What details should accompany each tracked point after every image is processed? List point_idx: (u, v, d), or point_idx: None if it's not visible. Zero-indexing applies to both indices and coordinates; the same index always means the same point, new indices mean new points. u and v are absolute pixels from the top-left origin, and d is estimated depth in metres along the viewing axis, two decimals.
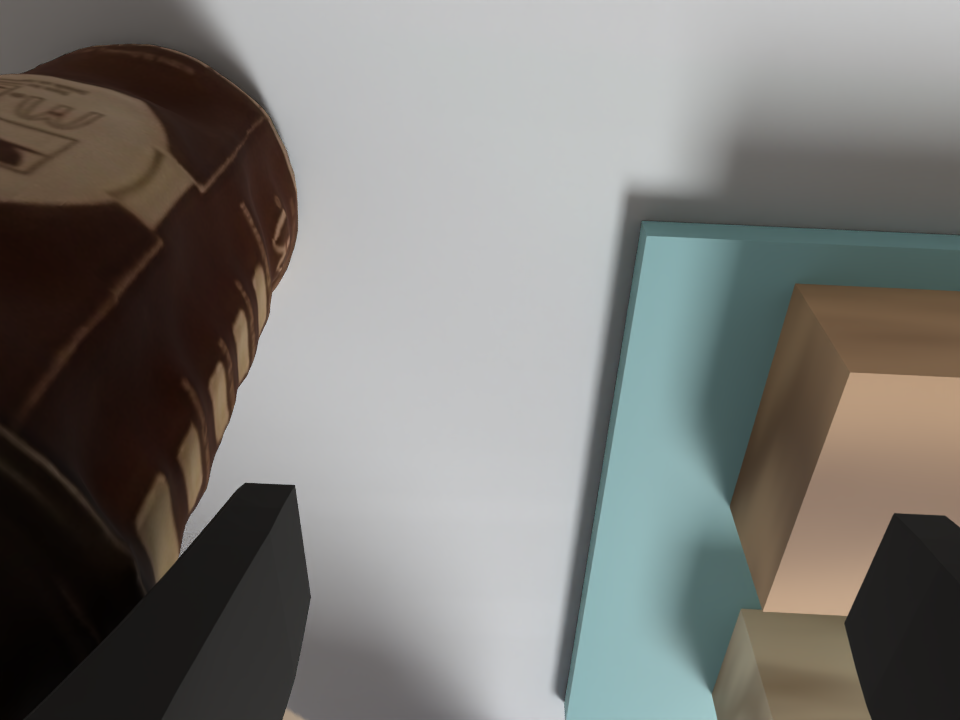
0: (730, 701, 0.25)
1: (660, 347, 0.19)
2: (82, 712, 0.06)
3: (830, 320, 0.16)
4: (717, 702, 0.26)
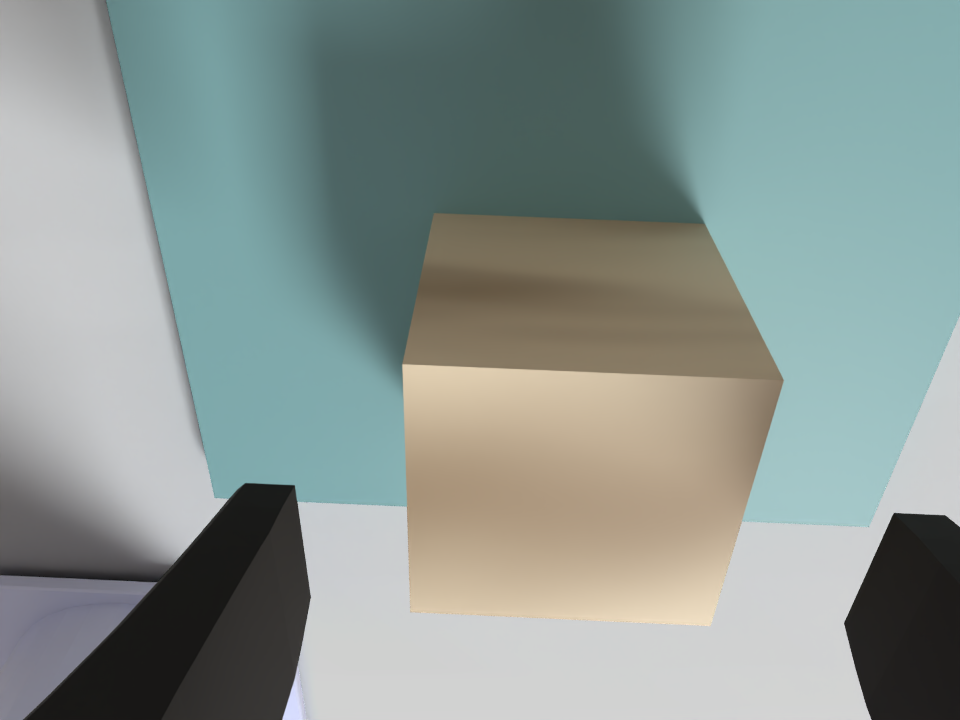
0: None
1: None
2: (82, 712, 0.06)
3: None
4: None
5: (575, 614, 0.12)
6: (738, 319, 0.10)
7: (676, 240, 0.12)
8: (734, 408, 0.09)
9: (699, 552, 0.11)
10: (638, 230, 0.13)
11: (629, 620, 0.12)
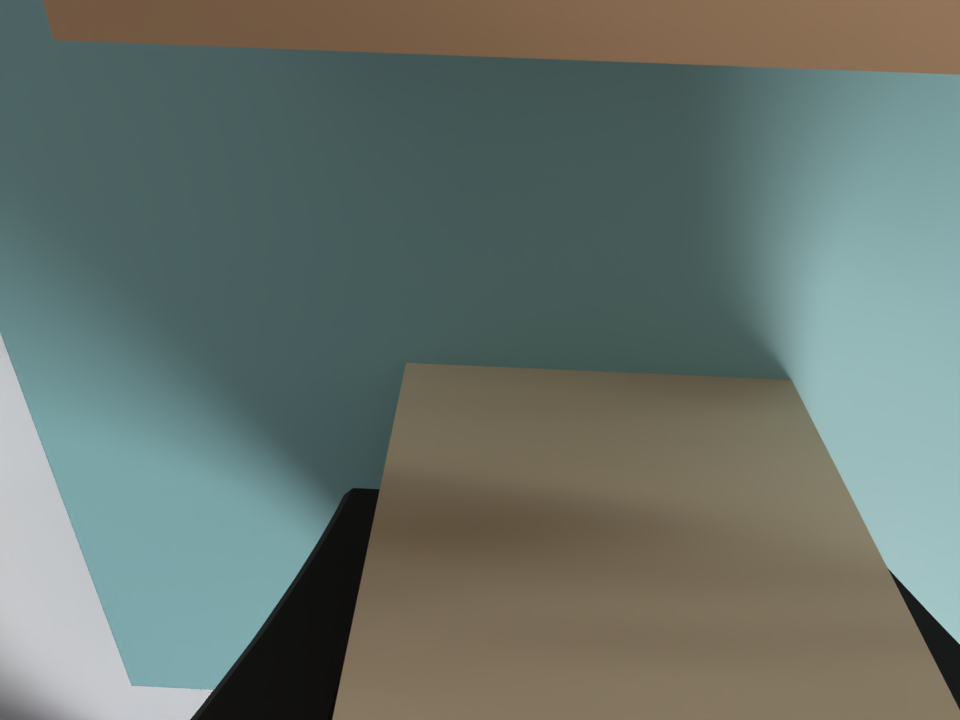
0: None
1: None
2: None
3: None
4: None
5: None
6: (878, 595, 0.06)
7: (755, 414, 0.09)
8: None
9: None
10: (698, 394, 0.09)
11: None
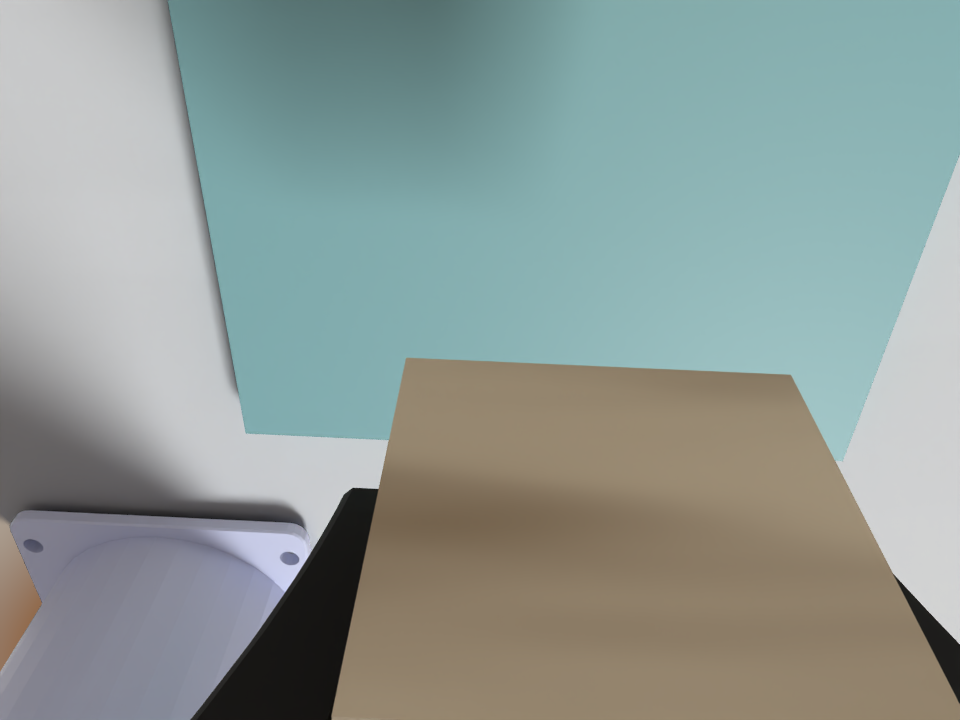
0: None
1: None
2: None
3: None
4: None
5: None
6: (876, 588, 0.07)
7: (755, 408, 0.09)
8: None
9: None
10: (698, 389, 0.09)
11: None
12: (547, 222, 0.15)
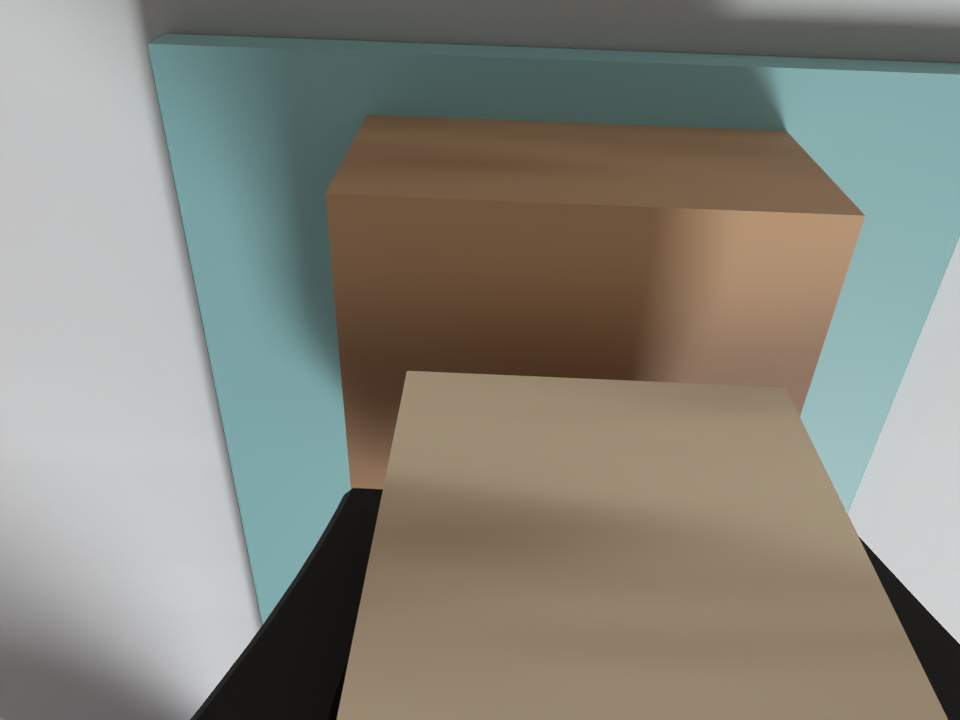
0: None
1: (222, 213, 0.14)
2: None
3: (368, 146, 0.12)
4: None
5: None
6: (866, 601, 0.07)
7: (749, 421, 0.09)
8: None
9: None
10: (694, 401, 0.09)
11: None
12: None
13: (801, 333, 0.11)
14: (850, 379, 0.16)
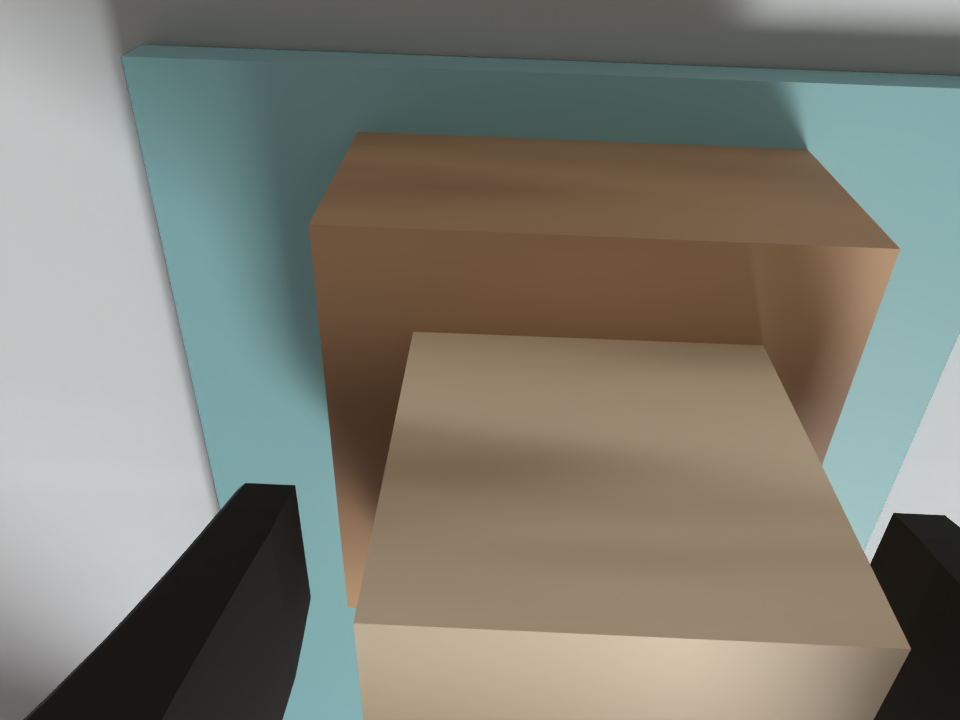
0: None
1: (204, 235, 0.13)
2: (83, 712, 0.06)
3: (358, 168, 0.11)
4: None
5: None
6: (828, 523, 0.07)
7: (729, 374, 0.09)
8: (834, 678, 0.07)
9: None
10: (678, 357, 0.10)
11: None
12: None
13: (827, 373, 0.10)
14: (871, 408, 0.15)
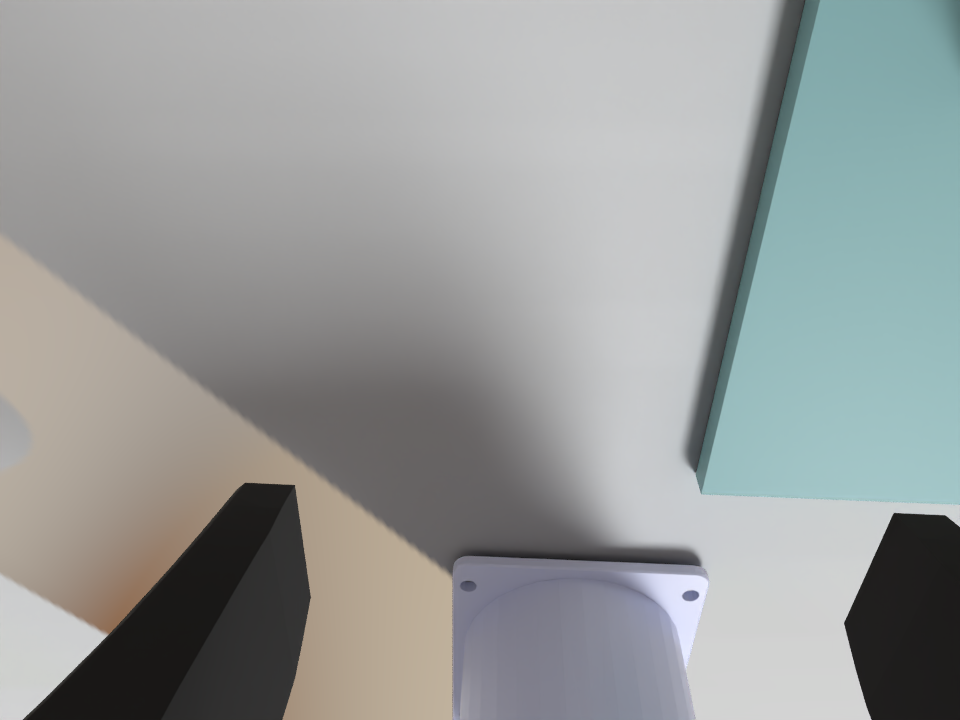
0: None
1: None
2: (83, 712, 0.06)
3: None
4: None
5: None
6: None
7: None
8: None
9: None
10: None
11: None
12: None
13: None
14: None
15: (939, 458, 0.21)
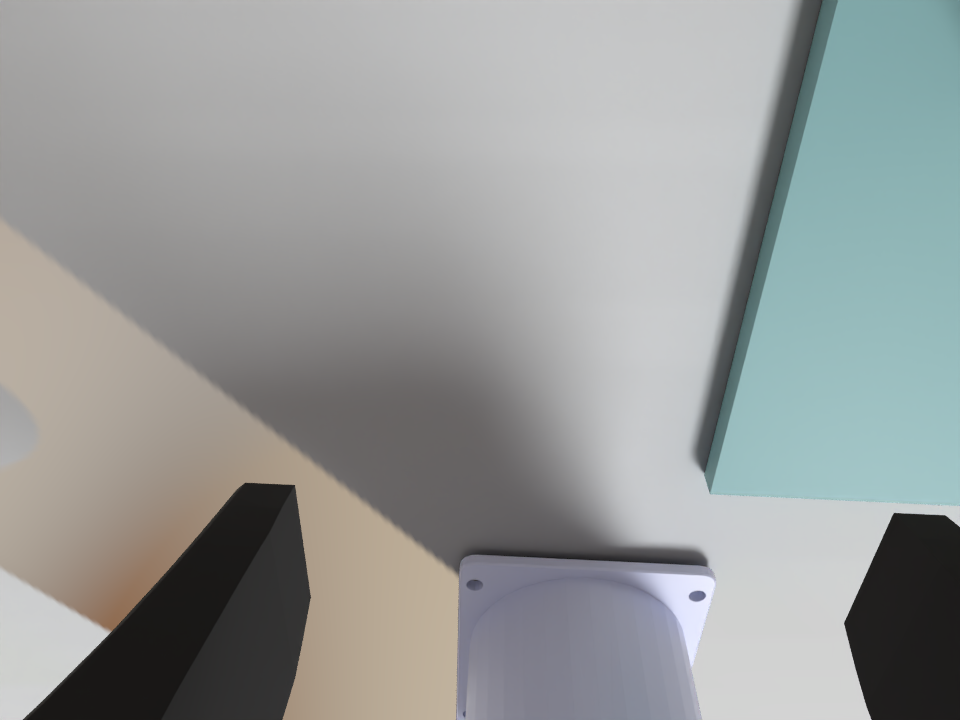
0: None
1: None
2: (83, 711, 0.06)
3: None
4: None
5: None
6: None
7: None
8: None
9: None
10: None
11: None
12: None
13: None
14: None
15: (948, 459, 0.21)
